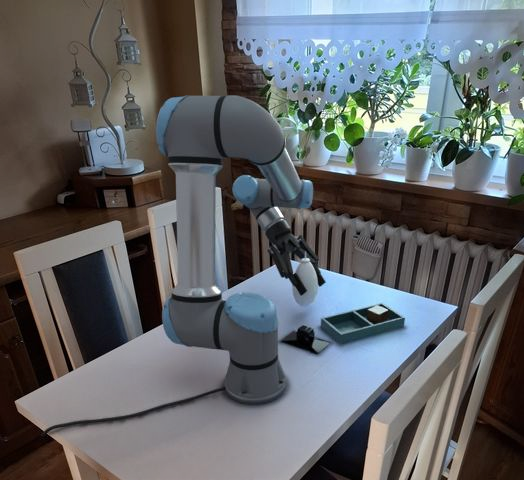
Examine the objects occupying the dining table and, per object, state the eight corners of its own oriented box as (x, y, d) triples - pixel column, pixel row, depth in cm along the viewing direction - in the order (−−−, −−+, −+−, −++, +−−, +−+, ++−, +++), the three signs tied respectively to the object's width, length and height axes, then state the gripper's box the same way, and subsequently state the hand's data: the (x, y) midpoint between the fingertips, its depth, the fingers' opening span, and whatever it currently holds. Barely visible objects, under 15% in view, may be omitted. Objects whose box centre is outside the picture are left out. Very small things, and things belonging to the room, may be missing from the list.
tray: (340, 344, 136) (341, 334, 135) (320, 327, 145) (320, 317, 143) (403, 327, 143) (405, 317, 142) (381, 312, 152) (382, 302, 151)
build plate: (330, 343, 137) (331, 329, 135) (317, 355, 132) (317, 340, 130) (293, 331, 144) (293, 317, 141) (279, 342, 139) (279, 328, 136)
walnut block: (377, 327, 143) (379, 314, 141) (366, 322, 146) (367, 309, 144) (387, 323, 146) (388, 309, 143) (375, 317, 149) (377, 305, 146)
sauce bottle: (320, 301, 155) (321, 247, 146) (313, 312, 149) (315, 256, 140) (296, 298, 158) (296, 245, 148) (289, 309, 151) (289, 254, 142)
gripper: (291, 224, 158) (328, 284, 157) (244, 241, 146) (283, 305, 145) (303, 211, 152) (342, 273, 151) (255, 227, 140) (296, 294, 139)
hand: (313, 288), depth 148 cm, fingers closed on sauce bottle, 8 cm apart
